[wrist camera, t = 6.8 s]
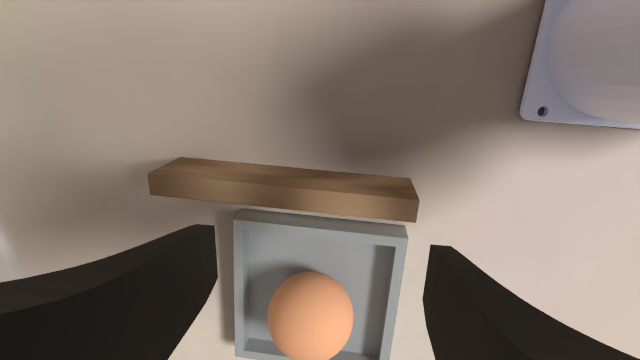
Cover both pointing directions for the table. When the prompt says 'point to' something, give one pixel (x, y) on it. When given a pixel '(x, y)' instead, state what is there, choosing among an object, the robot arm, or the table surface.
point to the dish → (317, 256)
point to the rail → (287, 188)
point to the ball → (310, 317)
